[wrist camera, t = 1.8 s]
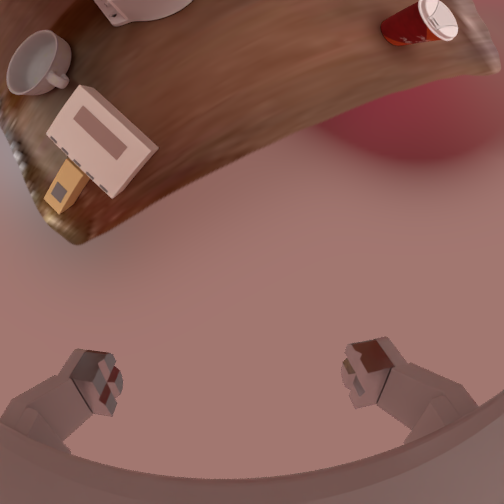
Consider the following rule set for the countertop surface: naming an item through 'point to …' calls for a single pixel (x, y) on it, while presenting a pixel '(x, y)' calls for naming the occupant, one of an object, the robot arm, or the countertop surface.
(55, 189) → the stub
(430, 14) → the paper cup
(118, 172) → the ticket block
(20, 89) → the teacup
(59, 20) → the countertop surface
